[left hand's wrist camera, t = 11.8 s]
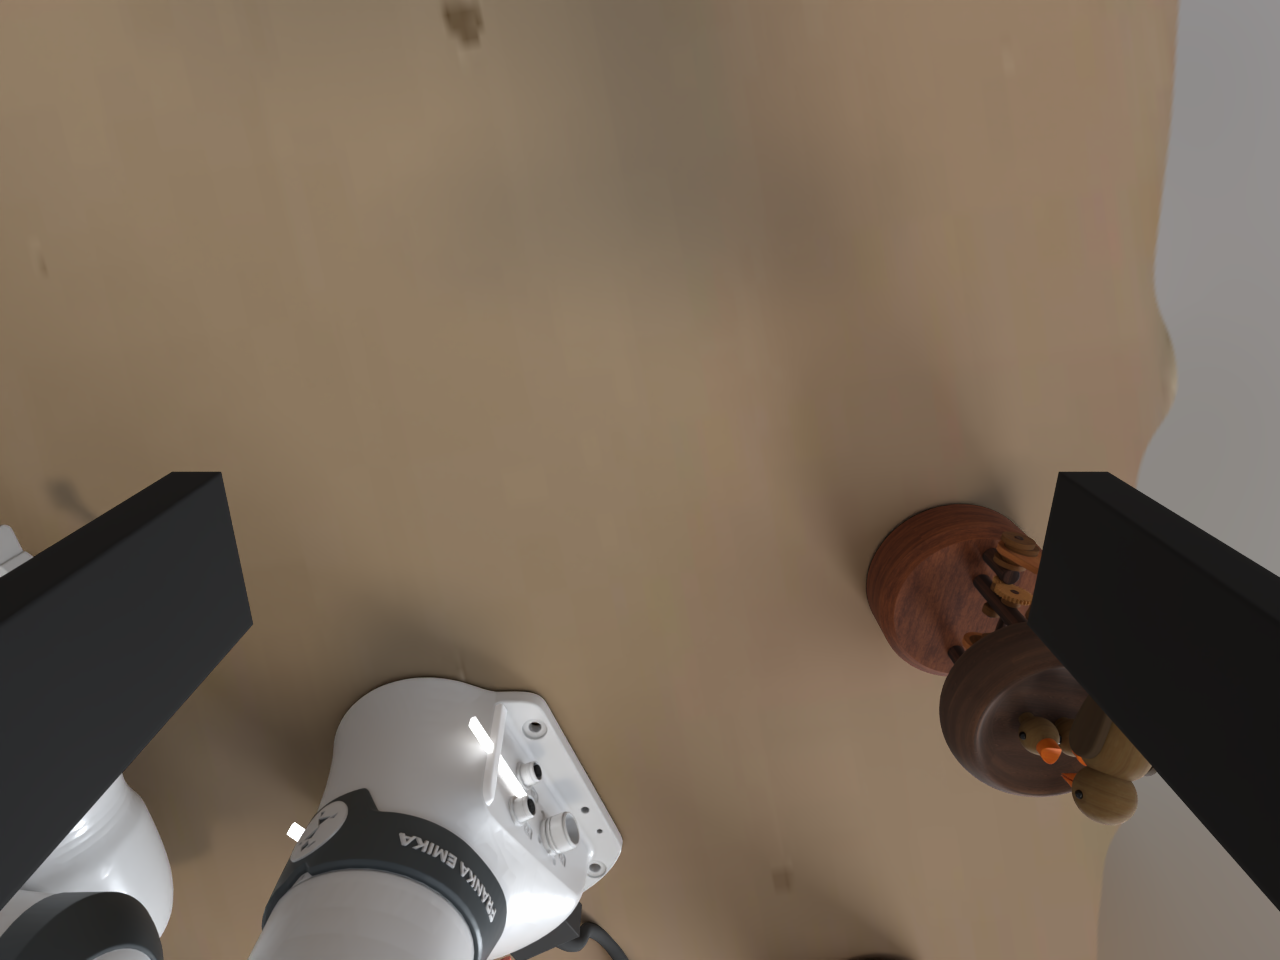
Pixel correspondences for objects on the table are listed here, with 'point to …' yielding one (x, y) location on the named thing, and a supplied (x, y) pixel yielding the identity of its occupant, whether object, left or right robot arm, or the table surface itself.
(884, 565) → the music box
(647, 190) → the table surface
